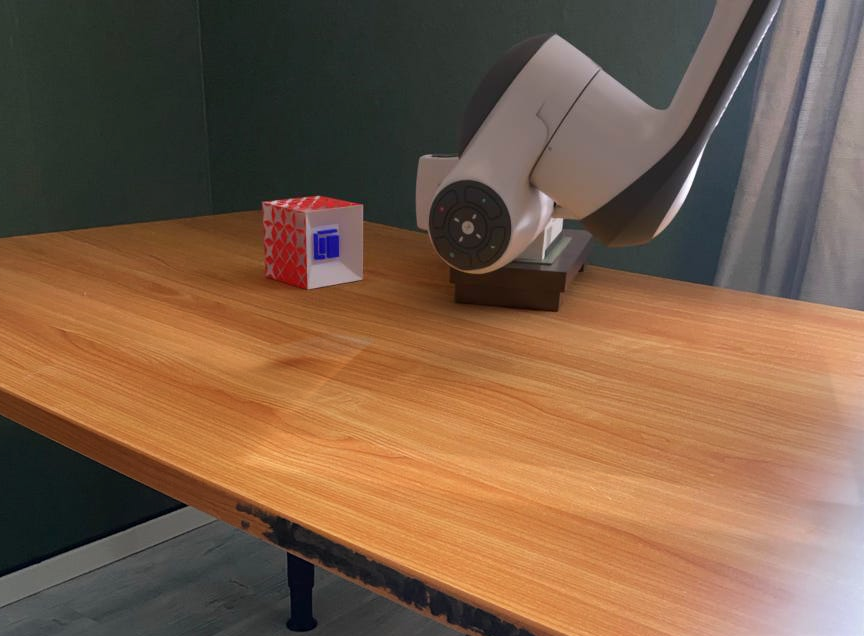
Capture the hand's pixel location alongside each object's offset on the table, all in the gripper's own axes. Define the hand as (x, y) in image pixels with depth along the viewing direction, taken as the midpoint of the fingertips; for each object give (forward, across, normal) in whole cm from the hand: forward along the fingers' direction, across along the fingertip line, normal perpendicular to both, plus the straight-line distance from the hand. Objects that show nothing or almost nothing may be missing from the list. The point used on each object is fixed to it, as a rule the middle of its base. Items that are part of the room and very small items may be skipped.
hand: (532, 179), depth 103 cm
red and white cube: (-2, +24, +12) cm, 26 cm away
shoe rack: (+4, +1, +11) cm, 12 cm away
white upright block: (+3, 0, +7) cm, 8 cm away
